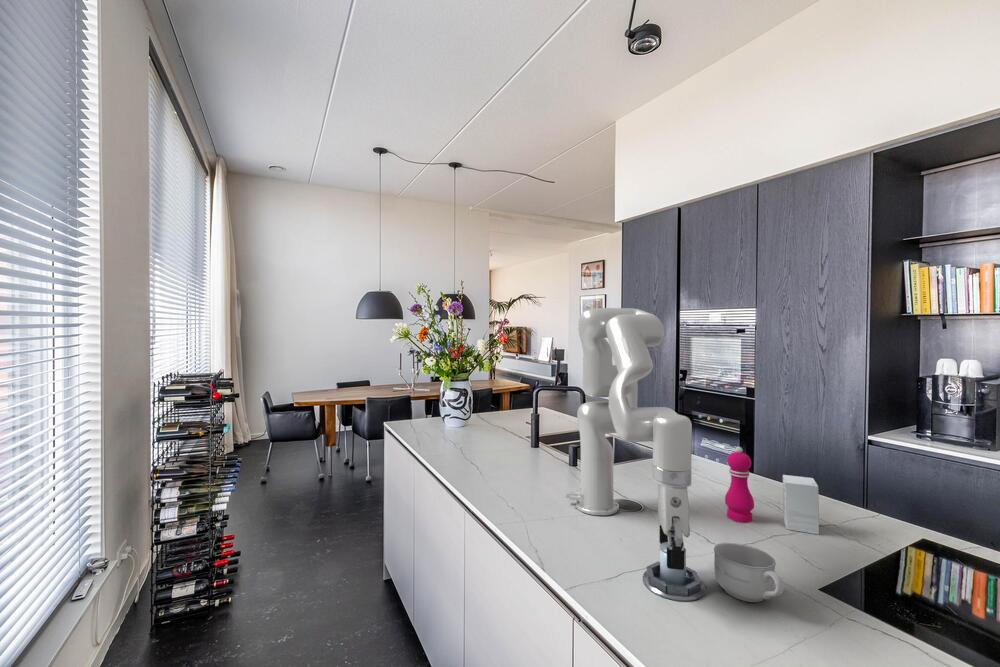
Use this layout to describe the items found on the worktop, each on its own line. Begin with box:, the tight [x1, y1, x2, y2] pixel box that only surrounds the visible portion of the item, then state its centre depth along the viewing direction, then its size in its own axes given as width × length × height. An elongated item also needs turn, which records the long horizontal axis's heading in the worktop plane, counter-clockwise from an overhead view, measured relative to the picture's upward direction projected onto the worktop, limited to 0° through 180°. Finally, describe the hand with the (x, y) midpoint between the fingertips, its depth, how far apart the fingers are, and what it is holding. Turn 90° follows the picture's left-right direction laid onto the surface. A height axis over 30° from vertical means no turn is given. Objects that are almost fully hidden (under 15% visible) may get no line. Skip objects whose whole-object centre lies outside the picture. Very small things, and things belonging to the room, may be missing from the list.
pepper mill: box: [724, 446, 755, 524], centre depth 124 cm, size 7×7×20 cm
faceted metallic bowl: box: [642, 560, 706, 602], centre depth 91 cm, size 12×12×2 cm
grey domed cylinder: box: [659, 542, 687, 586], centre depth 92 cm, size 5×5×7 cm
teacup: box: [713, 542, 785, 603], centre depth 87 cm, size 14×11×8 cm
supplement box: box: [782, 474, 820, 535], centre depth 118 cm, size 7×7×13 cm
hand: (671, 555), depth 92 cm, fingers open, 9 cm apart
